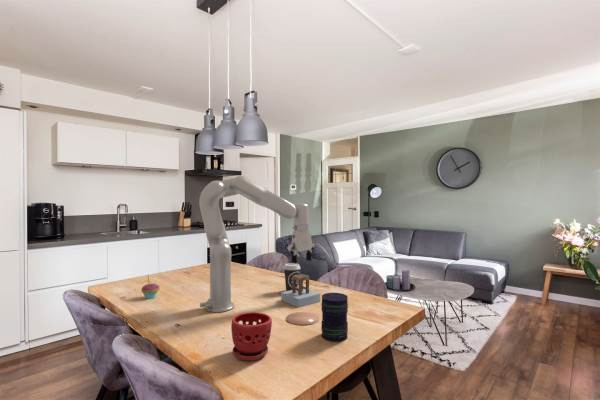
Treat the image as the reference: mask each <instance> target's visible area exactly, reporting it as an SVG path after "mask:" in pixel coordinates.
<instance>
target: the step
mask: <svg viewBox="0 0 600 400" xmlns="http://www.w3.org/2000/svg"><path fill="white" fill-rule="evenodd" d="M280 293H281V295H280V297H281V299H280V300H281V301H282V302H284V303H287V304H290V305H291V306H294V307H297V308H301V307H307V306H309V305H312V304H317V303H321V293H320V292H318V291H317V292H316V291H314V290H310V289H309V293H308V294H307V293H306V289H303V291H302V295H298V291H297V290H296V293H292V290H290V291H286V290H285V291H282V292H280Z"/></svg>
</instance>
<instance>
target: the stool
mask: <svg viewBox="0 0 600 400" xmlns="http://www.w3.org/2000/svg"><path fill="white" fill-rule="evenodd" d="M296 280H297V281H298V289H297V288H296ZM304 281H305V286H304ZM303 289H306V293H307V294H308V293H309V290H310V276H309V275H306V274H302V273H299V275H294V276H292V293H296V290H297V291H298V295H302V291H303Z"/></svg>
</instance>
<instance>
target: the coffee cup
mask: <svg viewBox="0 0 600 400" xmlns="http://www.w3.org/2000/svg"><path fill="white" fill-rule="evenodd" d="M282 268H283V271H284V281H285V282H284V283H285V292H286V291H290V290H292V276H294V275H299V274H300V271H301V266H300V264H299V263H296V264H295V263H292V262H289V263H284V266H283V267H282ZM296 288H297V289H298V281H297V280H296Z"/></svg>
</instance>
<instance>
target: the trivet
mask: <svg viewBox="0 0 600 400" xmlns="http://www.w3.org/2000/svg"><path fill="white" fill-rule="evenodd" d="M285 319H286V320H285V321H286V322H288V323H289V324H292V325H296V326H308V325H309V326H310V325H314V324H316V323H317V322H319V316H318V315H317V314H315V313H311V312H306V311H299V312H292V313H290V314H288V315H286V317H285Z"/></svg>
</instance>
